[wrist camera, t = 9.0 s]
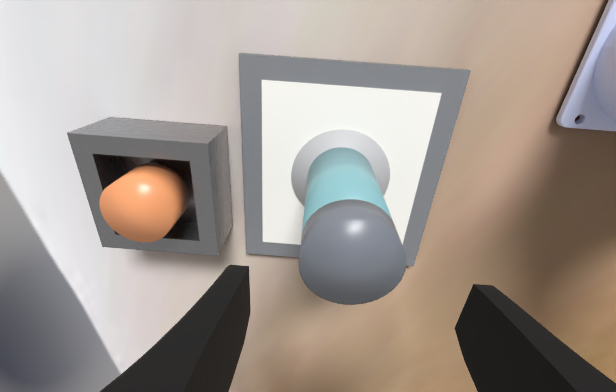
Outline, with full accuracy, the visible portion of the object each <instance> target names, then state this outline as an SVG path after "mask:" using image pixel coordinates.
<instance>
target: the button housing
mask: <svg viewBox="0 0 616 392" xmlns="http://www.w3.org/2000/svg"><path fill="white" fill-rule="evenodd" d="M67 135H68V138H69V141H70V144H71V147H72V151H73V154H74V157H75V160H76V163H77V167H78V170H79V173H80V176H81V179H82V183H83V186H84V189H85V192H86V195H87V199H88V202H89V205H90V208H91V212H92V215H93V218H94V221H95V224H96V228H97V231H98V234H99V237H100V240H101V244H102V247H111V248H124V249H136V250H149V251H162V252H175V253H187V254H200V255H213V256H218V255H219V253H220V251H221V249H222V247H223V244H224V242H225V240H226V238H227V236H228V234H229V232H230V230H231V228H232V226H233V219H232V203H231V186H230V170H229V153H228V137H227V126H218V125H205V124H192V123H179V122H165V121H152V120H139V119H126V118H112V117H109V118H107V119H104V120H101V121H98V122H96V123H93V124H90V125H88V126H85V127H82V128H79V129H77V130H74V131H71V132H68V133H67ZM145 163H156V164H161V165H164V166H166V167H168V168H170V169H172V170H173V171H175V172H176V173H177V174H178V175H179V176H180V177H181V178H182V179H183V180H184V182H185V183H186V185H187V187H188V190H189V194H190V201H189V205H188V207H187V209H186V210H185V212H184V213H183V214H182V215H181V217H180V218H179V219H178V220H177V222H176V223H175V224H174V225H173V227H172V228H171V229H170V230H169V232H168V233H167V234H166V235H165V236H164V237H163V238H161V239H159V240H157V241H154V242H137V241H133V240H130V239H128V238H125V237H123V236H122V235H120V234H118V233H117V232H116V231H114V230H113V229H112V228H111V227H110V226H109V225H108V224H107V222H106V221H105V219H104V218H103V216H102V213H101V210H100V204H99V202H100V196H101V194H102V192H103V191H104V189H105V188H106V187H107V186H109V185H110V184H112V183H113V182H115V181H116V180H118V179H119V178H121V177H122V176H124V175H125V174H127V173H128V172H129V171H131V170H132V169H134V168H135V167H137V166H139V165H141V164H145Z"/></svg>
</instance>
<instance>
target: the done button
mask: <svg viewBox="0 0 616 392" xmlns="http://www.w3.org/2000/svg"><path fill="white" fill-rule="evenodd" d="M189 201H190V194H189V190H188V187H187V185H186V183H185V182H184V180H183V179H182V178H181V177H180V176H179V175H178V174H177V173H176V172H175V171H173V170H172V169H170V168H168V167H166V166H164V165H161V164H156V163H145V164H141V165H139V166H137V167H135V168H134V169H132V170H131V171H129V172H128V173H127V174H125V175H124V176H122V177H121V178H119V179H118V180H116V181H115V182H113V183H112V184H110V185H109V186H107V187H106V188H105V189H104V191H103V192H102V194H101V196H100V202H99V204H100V210H101V213H102V216H103V218H104V219H105V221H106V222H107V224H108V225H109V226H110V227H111V228H112V229H113V230H114V231H116V232H117V233H118V234H120V235H122V236H123V237H125V238H128V239H130V240H133V241H137V242H154V241H157V240H159V239H161V238H163V237H164V236H165V235H166V234H167V233H168V232H169V230H170V229H171V228H172V227H173V225H174V224H175V223H176V222H177V220H178V219H179V218H180V217H181V215H182V214H183V213H184V212H185V210H186V209H187V207H188V205H189Z"/></svg>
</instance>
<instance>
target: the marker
mask: <svg viewBox="0 0 616 392" xmlns="http://www.w3.org/2000/svg"><path fill="white" fill-rule="evenodd" d="M405 269H406V254H405V251H404V248H403V245H402V243H401V240H400V237H399V235H398V232H397V230H396V227H395V225H394V222H393V220H392V217H391V215H390V212H389V209H388V207H387V204H386V202H385V199H384V197H383V194H382V192H381V189H380V187H379V184H378V181H377V179H376V176H375V174H374V171H373V169H372V166H371V164H370V162H369V161H368V159H367V158H366V157H365V156H364V155H363V154H361V153H360V152H358V151H356V150H354V149H351V148H345V147H338V148H332V149H329V150H327V151H325V152H323V153H321V154H320V155H319V156H318V157H317V158H316V159H315V160H314V161H313V162H312V164H311V166H310V168H309V172H308V178H307V188H306V198H305V207H304V217H303V227H302V236H301V246H300V256H299V271H300V274H301V277H302V279H303V281H304V283H305V284H306V285H307V287H308V288H309V289H310V290H311V291H312V292H314V293H315V294H316V295H318V296H319V297H321V298H323V299H325V300H328V301H331V302H334V303H338V304H346V305H355V304H363V303H368V302H372V301H374V300H377V299H379V298H381V297H383V296H385V295H386V294H388V293H389V292H391V291H392V290H393V289H394V288H395V287H396V286H397V285H398V283H399V282H400V281H401V279H402V277H403V275H404V272H405Z"/></svg>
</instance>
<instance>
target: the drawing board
mask: <svg viewBox="0 0 616 392" xmlns="http://www.w3.org/2000/svg"><path fill="white" fill-rule="evenodd" d="M239 73H240V100H241V126H242V153H243V179H244V206H245V232H246V253H249V254H261V255H274V256H287V257H299V256H300V246H301V236H302V227H303V217H304V207H305V198H306V188H307V178H308V172H309V168H310V166H311V164H312V162H313V161H314V160H315V159H316V158H317V157H318V156H319V155H320V154H321V153H323V152H325V151H327V150H329V149H332V148H338V147H345V148H351V149H354V150H356V151H358V152H360V153H361V154H363V155H364V156H365V157H366V158H367V159H368V161H369V162H370V164H371V166H372V169H373V171H374V174H375V176H376V179H377V181H378V184H379V187H380V189H381V192H382V194H383V197H384V199H385V202H386V204H387V207H388V209H389V212H390V215H391V217H392V220H393V222H394V225H395V227H396V230H397V232H398V235H399V237H400V240H401V243H402V245H403V248H404V251H405V254H406V266H414V263H415V259H416V256H417V252H418V249H419V245H420V242H421V239H422V235H423V232H424V228H425V225H426V222H427V218H428V215H429V211H430V208H431V204H432V201H433V198H434V194H435V191H436V187H437V184H438V181H439V177H440V174H441V170H442V167H443V163H444V160H445V157H446V153H447V150H448V146H449V143H450V140H451V136H452V133H453V129H454V126H455V122H456V119H457V116H458V112H459V109H460V105H461V102H462V99H463V95H464V92H465V88H466V85H467V81H468V78H469V75H470V70H464V69H450V68H437V67H423V66H409V65H396V64H382V63H369V62H355V61H342V60H328V59H315V58H301V57H288V56H274V55H261V54H247V53H239Z"/></svg>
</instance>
